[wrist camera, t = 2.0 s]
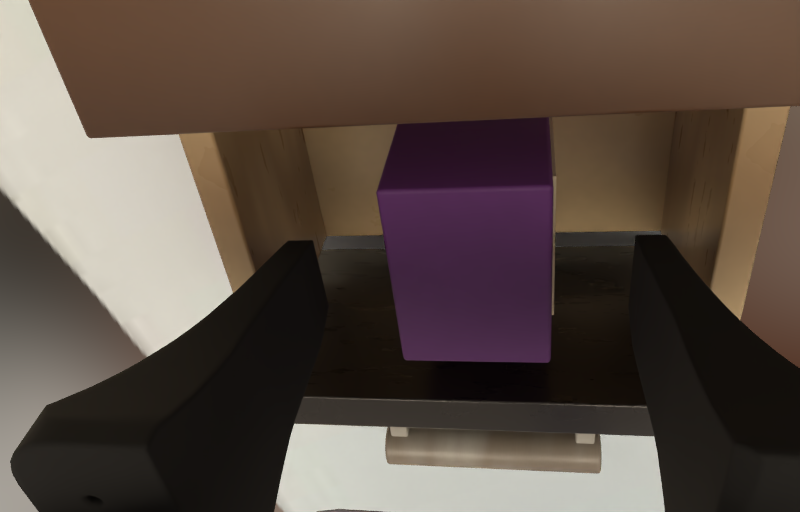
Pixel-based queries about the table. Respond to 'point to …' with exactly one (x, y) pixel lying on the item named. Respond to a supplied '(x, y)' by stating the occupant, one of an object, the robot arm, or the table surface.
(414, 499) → the table surface
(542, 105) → the drawer unit
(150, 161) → the table surface
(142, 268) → the table surface
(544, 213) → the snack box
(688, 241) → the drawer
